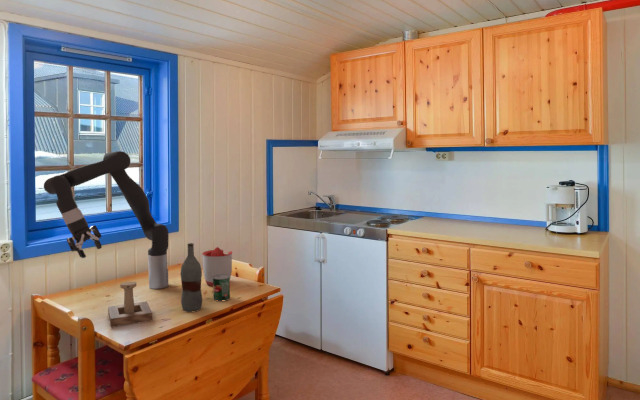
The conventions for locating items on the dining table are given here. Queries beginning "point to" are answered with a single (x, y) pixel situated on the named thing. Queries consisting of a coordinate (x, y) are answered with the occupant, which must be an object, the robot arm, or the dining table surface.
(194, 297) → the bottle
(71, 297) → the dining table surface
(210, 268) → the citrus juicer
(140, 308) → the holder
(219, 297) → the canned tomato
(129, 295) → the handle
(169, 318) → the dining table surface
